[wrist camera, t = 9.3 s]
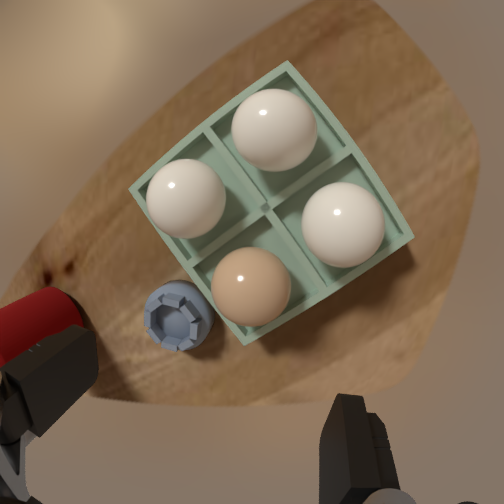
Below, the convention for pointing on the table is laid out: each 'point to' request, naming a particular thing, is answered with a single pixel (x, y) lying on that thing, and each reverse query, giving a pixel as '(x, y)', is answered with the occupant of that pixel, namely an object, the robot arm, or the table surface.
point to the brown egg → (251, 286)
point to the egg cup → (178, 315)
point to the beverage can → (34, 321)
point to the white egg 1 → (186, 198)
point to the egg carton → (275, 202)
